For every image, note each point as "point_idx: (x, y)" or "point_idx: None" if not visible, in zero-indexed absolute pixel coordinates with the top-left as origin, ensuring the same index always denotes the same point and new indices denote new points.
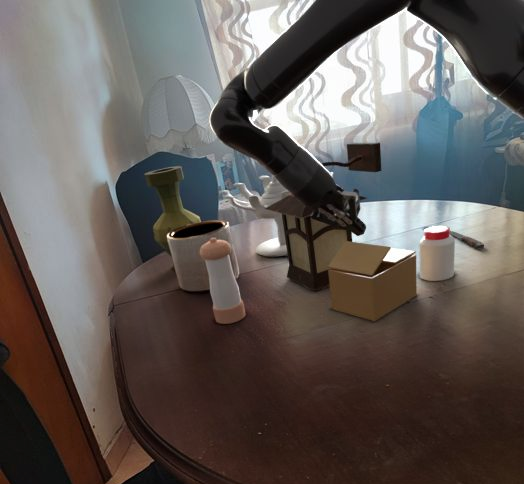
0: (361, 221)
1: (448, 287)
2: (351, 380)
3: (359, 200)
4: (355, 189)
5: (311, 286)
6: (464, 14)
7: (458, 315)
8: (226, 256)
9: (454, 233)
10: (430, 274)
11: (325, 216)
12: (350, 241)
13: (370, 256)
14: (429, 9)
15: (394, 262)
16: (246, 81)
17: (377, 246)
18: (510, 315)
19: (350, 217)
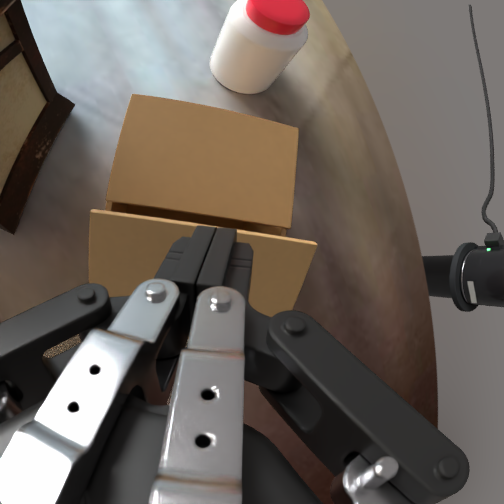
0: (250, 272)
1: (291, 118)
2: (301, 468)
3: (384, 385)
4: (460, 485)
5: (2, 228)
6: None
7: (353, 230)
8: None
9: None
10: (250, 86)
11: (39, 391)
12: (38, 65)
13: (250, 286)
14: None
15: (288, 227)
16: None
17: (264, 242)
18: (402, 206)
19: (262, 393)
